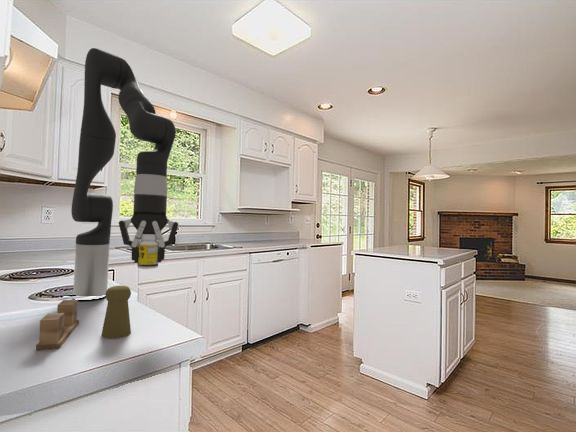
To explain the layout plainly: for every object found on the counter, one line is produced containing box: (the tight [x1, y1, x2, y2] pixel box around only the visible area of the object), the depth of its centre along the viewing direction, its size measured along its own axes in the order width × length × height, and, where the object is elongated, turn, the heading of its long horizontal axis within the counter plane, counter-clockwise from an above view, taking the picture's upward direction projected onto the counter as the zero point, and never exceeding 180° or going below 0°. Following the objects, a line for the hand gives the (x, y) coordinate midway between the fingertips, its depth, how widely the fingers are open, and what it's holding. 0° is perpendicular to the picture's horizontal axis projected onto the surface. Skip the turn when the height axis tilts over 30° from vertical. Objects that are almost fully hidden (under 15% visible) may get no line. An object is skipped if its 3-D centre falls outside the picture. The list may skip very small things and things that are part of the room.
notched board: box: [35, 299, 80, 351], centre depth 71 cm, size 15×4×6 cm, turn 21°
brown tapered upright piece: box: [101, 285, 132, 340], centre depth 73 cm, size 6×6×11 cm
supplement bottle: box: [136, 234, 160, 270], centre depth 79 cm, size 5×5×8 cm
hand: (148, 261), depth 79 cm, fingers closed on supplement bottle, 4 cm apart
